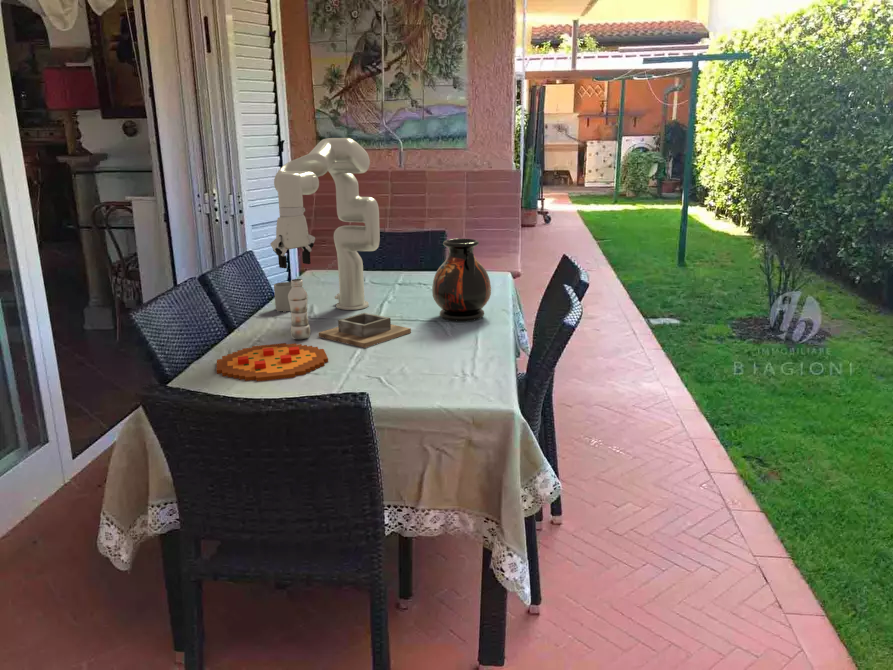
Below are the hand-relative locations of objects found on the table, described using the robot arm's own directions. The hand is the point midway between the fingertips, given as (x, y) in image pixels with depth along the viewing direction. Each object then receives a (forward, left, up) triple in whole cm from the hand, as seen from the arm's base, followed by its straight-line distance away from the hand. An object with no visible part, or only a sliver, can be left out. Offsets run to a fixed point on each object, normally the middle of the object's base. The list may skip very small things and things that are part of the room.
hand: (295, 265), depth 236 cm
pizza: (+13, -22, -25) cm, 36 cm away
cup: (-37, +24, -25) cm, 51 cm away
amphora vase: (+26, +54, -25) cm, 65 cm away
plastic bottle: (0, 0, -25) cm, 25 cm away
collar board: (+14, +16, -25) cm, 33 cm away
